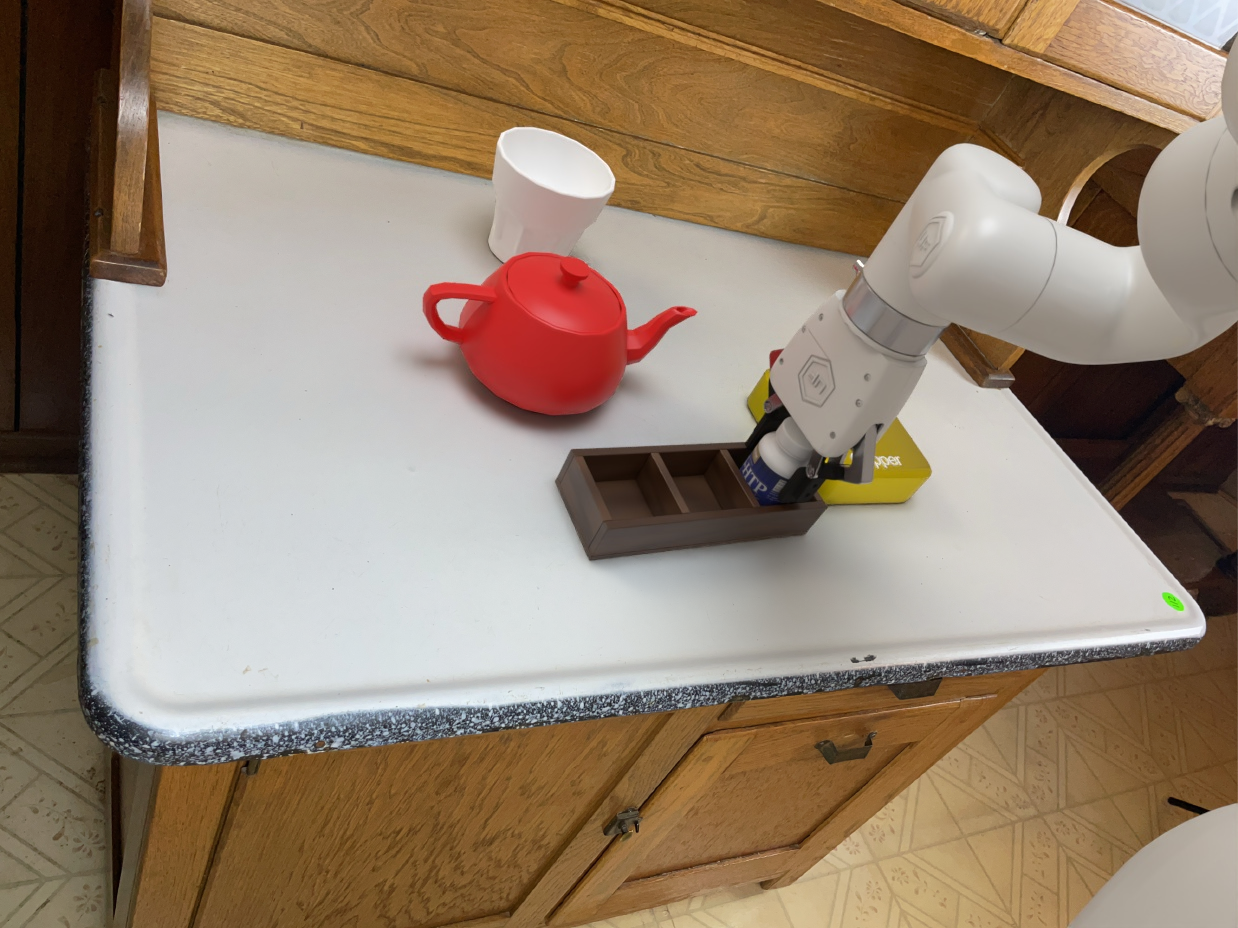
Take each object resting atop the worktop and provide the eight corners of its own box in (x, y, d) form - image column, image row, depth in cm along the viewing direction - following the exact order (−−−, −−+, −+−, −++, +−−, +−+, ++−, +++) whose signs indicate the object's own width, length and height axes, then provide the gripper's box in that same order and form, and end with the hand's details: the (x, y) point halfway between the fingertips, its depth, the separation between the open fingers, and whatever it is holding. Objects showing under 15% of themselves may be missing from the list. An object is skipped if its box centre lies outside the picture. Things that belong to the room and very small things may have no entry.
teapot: (417, 424, 69) (452, 307, 61) (396, 302, 79) (424, 187, 71) (682, 442, 81) (741, 345, 73) (636, 333, 90) (684, 236, 82)
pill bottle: (719, 476, 78) (766, 408, 72) (765, 476, 81) (814, 410, 75) (742, 522, 75) (793, 455, 69) (789, 521, 77) (842, 456, 72)
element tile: (802, 506, 81) (828, 473, 78) (739, 394, 89) (761, 360, 86) (915, 504, 88) (943, 473, 85) (847, 400, 97) (870, 369, 93)
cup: (469, 205, 95) (496, 112, 87) (575, 235, 99) (609, 149, 92) (468, 270, 86) (498, 174, 79) (584, 300, 90) (622, 211, 83)
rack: (805, 534, 78) (828, 507, 76) (589, 560, 66) (607, 529, 64) (764, 467, 83) (784, 439, 80) (554, 481, 71) (570, 448, 68)
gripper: (798, 238, 66) (698, 404, 78) (924, 394, 57) (789, 555, 69) (867, 247, 70) (761, 403, 82) (995, 394, 61) (855, 546, 73)
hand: (775, 471), depth 75 cm, fingers closed on pill bottle, 5 cm apart
